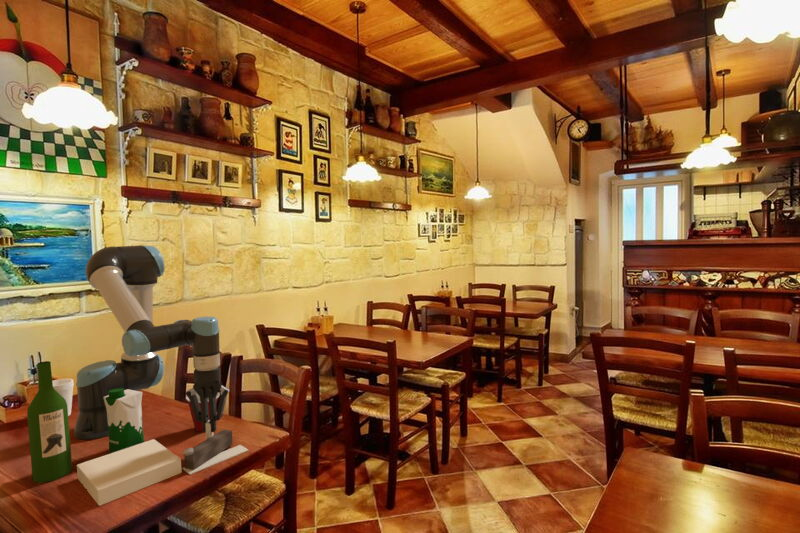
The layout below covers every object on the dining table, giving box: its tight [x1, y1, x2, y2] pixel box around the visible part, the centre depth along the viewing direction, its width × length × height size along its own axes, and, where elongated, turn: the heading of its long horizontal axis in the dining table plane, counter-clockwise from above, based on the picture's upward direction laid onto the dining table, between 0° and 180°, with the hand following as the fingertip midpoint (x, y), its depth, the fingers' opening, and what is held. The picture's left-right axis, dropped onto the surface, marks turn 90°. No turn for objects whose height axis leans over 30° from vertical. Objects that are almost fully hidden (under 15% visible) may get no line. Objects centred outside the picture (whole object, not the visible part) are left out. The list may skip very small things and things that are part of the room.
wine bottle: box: [26, 360, 73, 484], centre depth 125 cm, size 9×9×32 cm
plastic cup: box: [185, 392, 221, 432], centre depth 155 cm, size 11×11×12 cm
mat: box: [181, 444, 250, 476], centre depth 133 cm, size 5×18×1 cm, turn 139°
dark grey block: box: [182, 428, 234, 469], centre depth 133 cm, size 17×3×6 cm, turn 160°
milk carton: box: [103, 388, 145, 454], centre depth 140 cm, size 9×9×20 cm
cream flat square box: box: [76, 438, 183, 507], centre depth 125 cm, size 20×20×4 cm
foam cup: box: [52, 378, 75, 417], centre depth 169 cm, size 10×9×13 cm
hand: (210, 441), depth 138 cm, fingers closed
